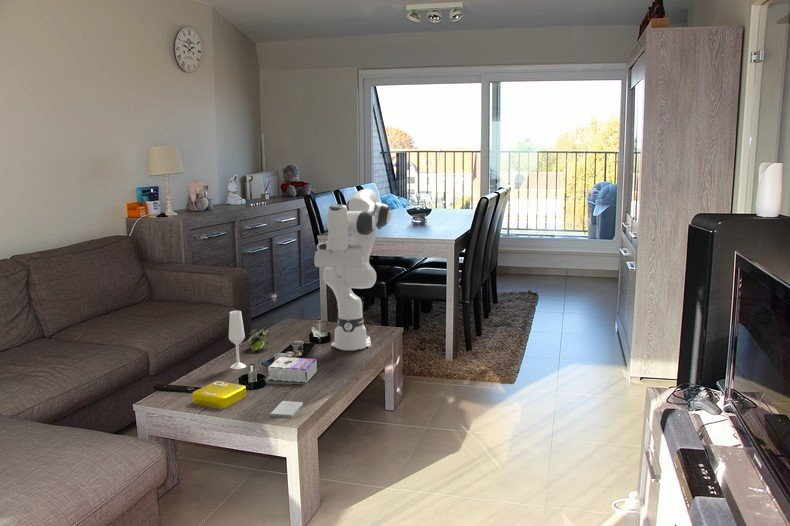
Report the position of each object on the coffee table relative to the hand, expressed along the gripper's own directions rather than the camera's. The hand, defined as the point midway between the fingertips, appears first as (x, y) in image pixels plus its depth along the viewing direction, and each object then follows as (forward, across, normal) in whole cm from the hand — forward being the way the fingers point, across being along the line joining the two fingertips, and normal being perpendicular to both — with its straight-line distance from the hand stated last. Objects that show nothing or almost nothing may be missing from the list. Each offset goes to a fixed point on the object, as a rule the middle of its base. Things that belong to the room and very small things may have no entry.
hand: (339, 277), depth 287 cm
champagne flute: (+39, +45, +1) cm, 60 cm away
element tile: (+40, +39, +39) cm, 68 cm away
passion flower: (+39, +44, -25) cm, 64 cm away
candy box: (+36, +10, +13) cm, 39 cm away
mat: (+39, +19, +13) cm, 45 cm away
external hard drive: (+40, +11, +47) cm, 63 cm away
